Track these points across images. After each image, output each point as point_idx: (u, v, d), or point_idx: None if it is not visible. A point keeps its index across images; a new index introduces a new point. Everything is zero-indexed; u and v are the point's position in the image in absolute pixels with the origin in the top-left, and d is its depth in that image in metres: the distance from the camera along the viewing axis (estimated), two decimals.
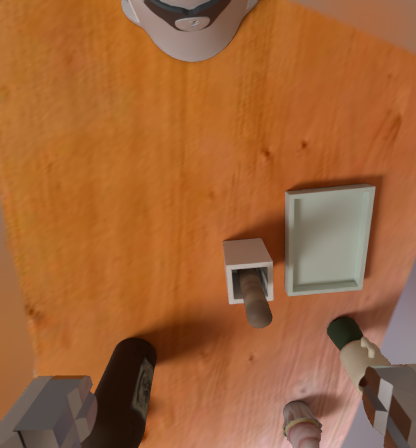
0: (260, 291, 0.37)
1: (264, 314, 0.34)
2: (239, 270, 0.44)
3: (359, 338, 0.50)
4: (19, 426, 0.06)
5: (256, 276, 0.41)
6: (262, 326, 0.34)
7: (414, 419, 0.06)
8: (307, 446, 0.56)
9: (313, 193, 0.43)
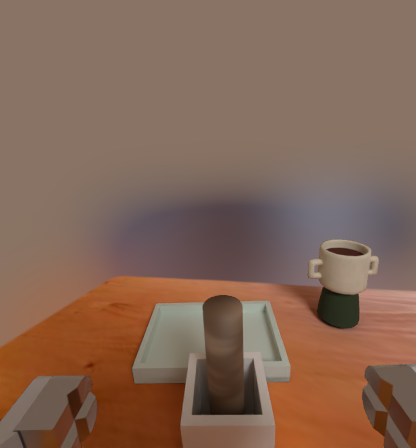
0: None
1: (215, 302, 0.21)
2: None
3: (324, 287, 0.43)
4: (19, 425, 0.06)
5: None
6: (239, 303, 0.21)
7: (414, 419, 0.06)
8: None
9: (141, 345, 0.37)
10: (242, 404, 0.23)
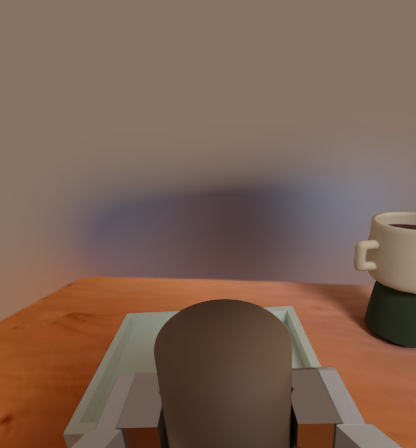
0: None
1: (199, 322, 0.07)
2: None
3: (377, 284, 0.28)
4: (121, 423, 0.06)
5: None
6: (276, 326, 0.06)
7: (301, 422, 0.06)
8: None
9: (90, 385, 0.22)
10: None
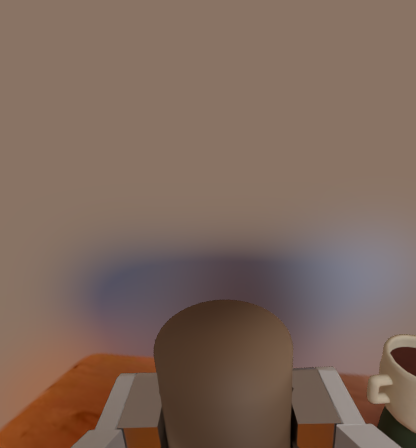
0: None
1: (199, 322, 0.07)
2: None
3: None
4: (121, 423, 0.06)
5: None
6: (276, 327, 0.06)
7: (301, 422, 0.06)
8: None
9: None
10: None
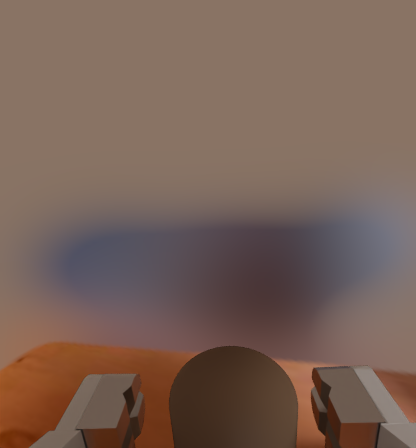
0: None
1: (210, 373, 0.07)
2: None
3: None
4: (81, 424, 0.06)
5: None
6: (282, 381, 0.07)
7: (344, 421, 0.06)
8: None
9: None
10: None
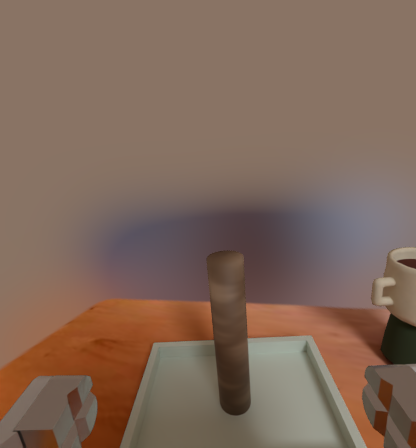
0: None
1: (218, 255, 0.23)
2: (223, 370, 0.24)
3: (393, 316, 0.30)
4: (19, 425, 0.06)
5: None
6: (240, 255, 0.23)
7: (414, 419, 0.06)
8: None
9: (130, 421, 0.24)
10: (246, 353, 0.24)
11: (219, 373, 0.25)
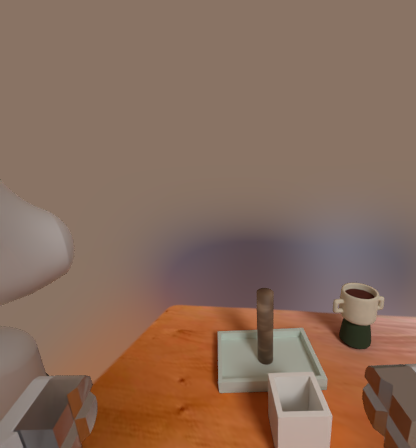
0: None
1: (261, 290, 0.51)
2: (262, 342, 0.53)
3: (344, 318, 0.59)
4: (19, 426, 0.06)
5: None
6: (271, 291, 0.51)
7: (414, 419, 0.06)
8: None
9: (218, 365, 0.53)
10: (272, 335, 0.53)
11: (259, 344, 0.53)
